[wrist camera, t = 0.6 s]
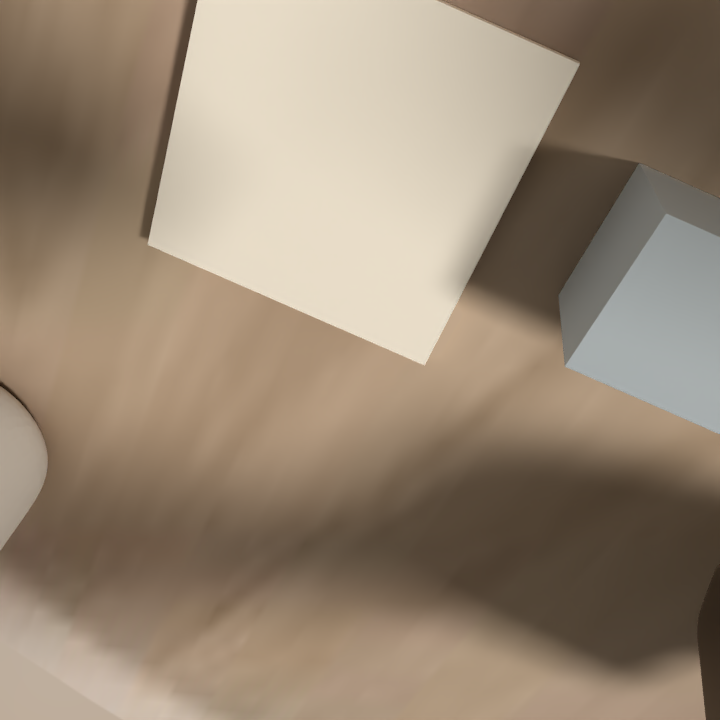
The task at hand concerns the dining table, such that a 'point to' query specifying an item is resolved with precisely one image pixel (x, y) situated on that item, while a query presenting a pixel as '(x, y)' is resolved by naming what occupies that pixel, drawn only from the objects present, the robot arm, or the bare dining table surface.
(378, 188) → the coaster
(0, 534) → the cup
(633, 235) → the slate block
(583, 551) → the dining table surface
